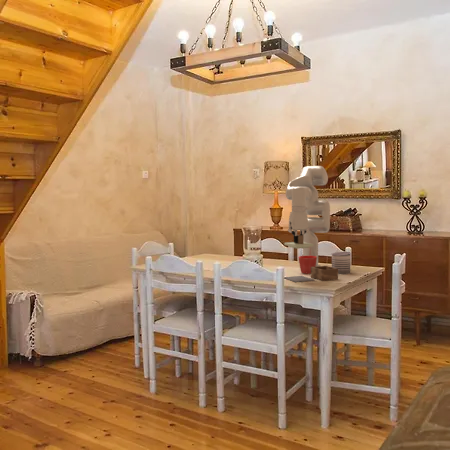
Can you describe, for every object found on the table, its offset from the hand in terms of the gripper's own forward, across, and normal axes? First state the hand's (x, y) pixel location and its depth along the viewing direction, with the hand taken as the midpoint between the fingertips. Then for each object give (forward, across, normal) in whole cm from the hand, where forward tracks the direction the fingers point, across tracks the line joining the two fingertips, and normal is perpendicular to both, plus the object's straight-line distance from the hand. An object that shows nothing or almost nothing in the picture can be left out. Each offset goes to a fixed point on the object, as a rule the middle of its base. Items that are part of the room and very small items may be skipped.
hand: (298, 242), depth 286 cm
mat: (+20, 0, 0) cm, 20 cm away
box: (+20, -14, +4) cm, 25 cm away
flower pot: (+21, -15, -16) cm, 30 cm away
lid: (+2, 0, 0) cm, 2 cm away
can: (+20, -33, -8) cm, 40 cm away
